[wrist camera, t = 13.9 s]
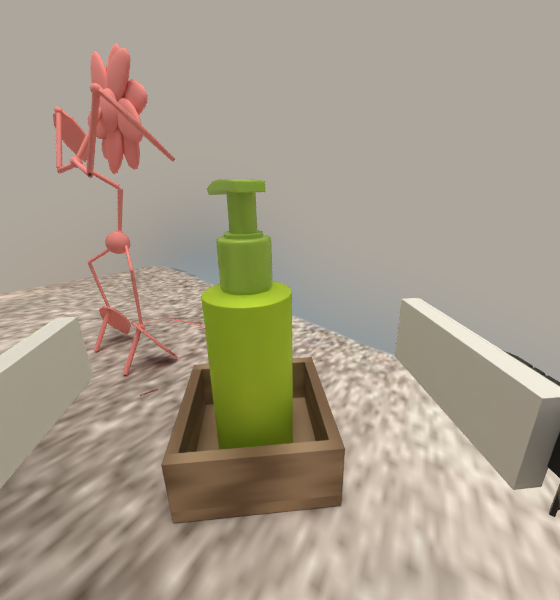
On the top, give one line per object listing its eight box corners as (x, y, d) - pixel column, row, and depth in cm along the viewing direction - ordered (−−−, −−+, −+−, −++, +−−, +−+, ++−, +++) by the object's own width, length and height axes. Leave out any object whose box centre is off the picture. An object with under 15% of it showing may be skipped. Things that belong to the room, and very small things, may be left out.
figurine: (153, 409, 30) (74, -56, 19) (68, 337, 46) (-2, 61, 35) (261, 352, 41) (251, 35, 30) (162, 309, 57) (131, 92, 46)
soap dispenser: (267, 405, 29) (257, 180, 22) (307, 457, 23) (310, 175, 17) (206, 428, 27) (175, 181, 20) (234, 492, 21) (203, 175, 14)
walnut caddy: (173, 523, 20) (161, 465, 18) (199, 408, 30) (194, 365, 29) (341, 505, 21) (344, 448, 19) (310, 399, 31) (311, 357, 30)
